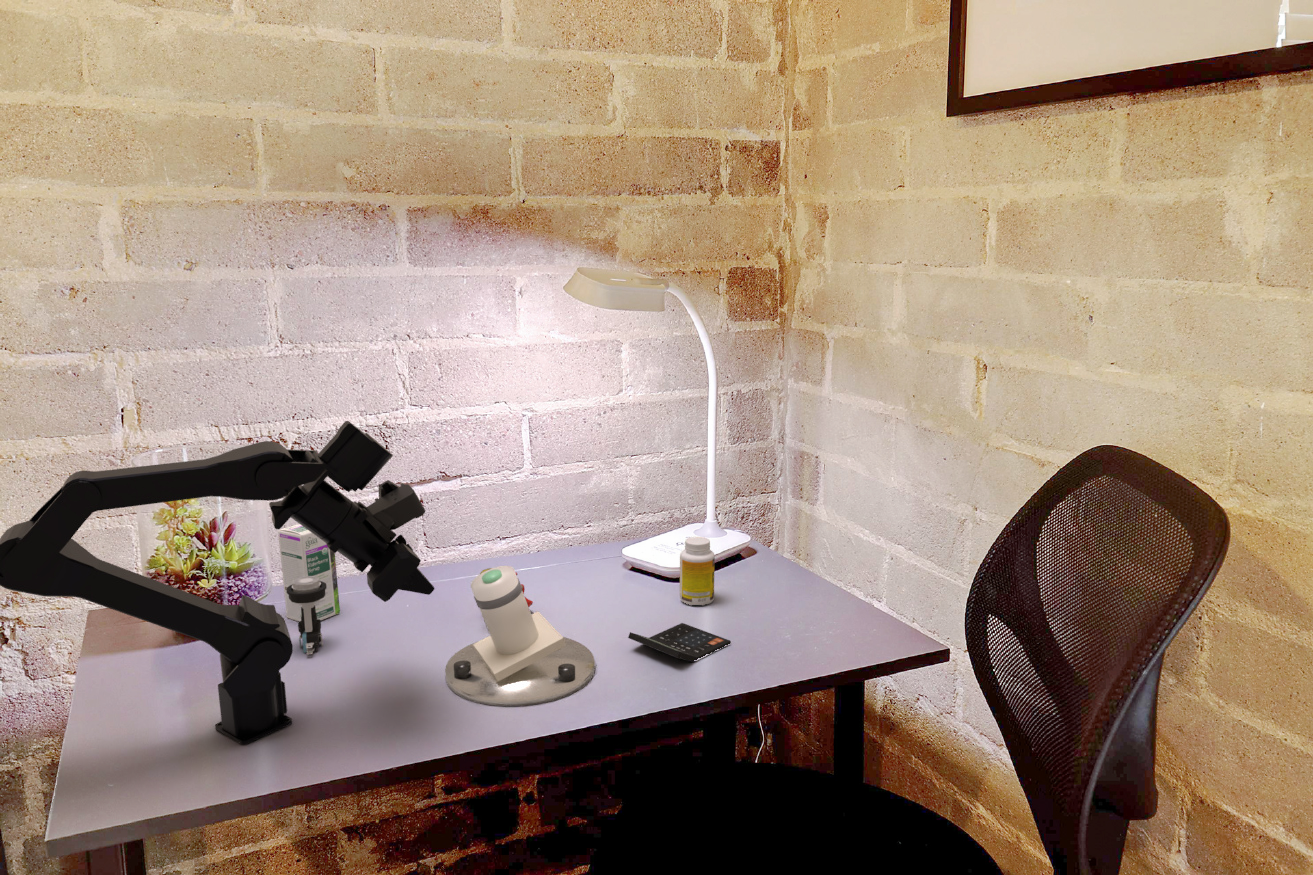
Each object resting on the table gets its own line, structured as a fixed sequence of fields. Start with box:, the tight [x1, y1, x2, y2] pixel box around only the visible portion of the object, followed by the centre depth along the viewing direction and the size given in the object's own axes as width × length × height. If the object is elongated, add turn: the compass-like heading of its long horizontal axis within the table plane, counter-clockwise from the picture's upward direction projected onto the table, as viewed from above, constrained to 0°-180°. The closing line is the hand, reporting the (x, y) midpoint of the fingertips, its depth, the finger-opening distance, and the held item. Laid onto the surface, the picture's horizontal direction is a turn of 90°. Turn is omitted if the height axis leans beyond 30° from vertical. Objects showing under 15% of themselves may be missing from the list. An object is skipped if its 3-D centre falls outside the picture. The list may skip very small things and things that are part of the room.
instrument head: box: [470, 565, 566, 682], centre depth 126 cm, size 10×10×12 cm
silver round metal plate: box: [444, 636, 596, 707], centre depth 128 cm, size 20×20×3 cm
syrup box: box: [277, 523, 341, 623], centre depth 145 cm, size 6×6×14 cm
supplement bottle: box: [679, 536, 716, 606], centre depth 152 cm, size 6×6×10 cm
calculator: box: [627, 622, 732, 663], centre depth 135 cm, size 9×12×3 cm
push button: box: [286, 576, 327, 655], centre depth 134 cm, size 7×5×10 cm
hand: (431, 590), depth 120 cm, fingers closed
